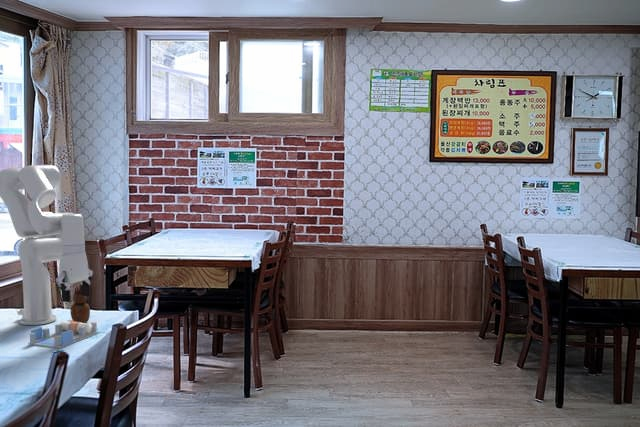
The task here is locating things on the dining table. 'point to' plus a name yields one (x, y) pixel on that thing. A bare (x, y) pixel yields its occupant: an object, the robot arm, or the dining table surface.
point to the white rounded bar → (75, 326)
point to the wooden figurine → (80, 307)
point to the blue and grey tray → (59, 336)
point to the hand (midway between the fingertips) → (76, 298)
